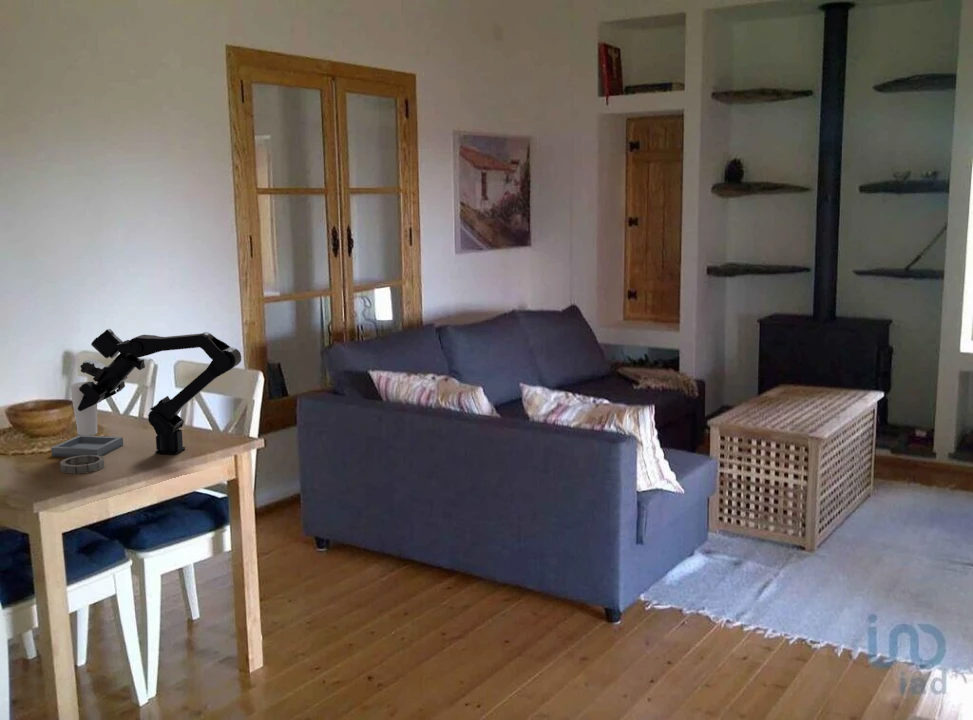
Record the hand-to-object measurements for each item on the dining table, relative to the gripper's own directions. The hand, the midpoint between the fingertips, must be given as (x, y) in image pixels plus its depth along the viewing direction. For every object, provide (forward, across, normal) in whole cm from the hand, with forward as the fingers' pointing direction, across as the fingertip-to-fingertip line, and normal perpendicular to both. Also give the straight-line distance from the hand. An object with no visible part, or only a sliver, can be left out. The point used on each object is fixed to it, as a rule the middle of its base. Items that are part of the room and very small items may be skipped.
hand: (84, 407), depth 273 cm
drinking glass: (+6, 0, +6) cm, 8 cm away
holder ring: (+5, +17, +14) cm, 22 cm away
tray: (+9, 0, +9) cm, 13 cm away
